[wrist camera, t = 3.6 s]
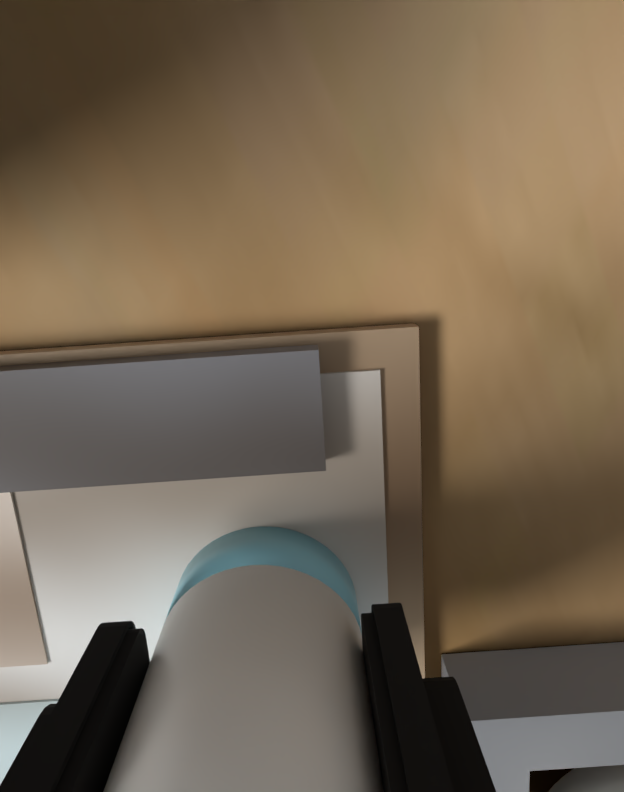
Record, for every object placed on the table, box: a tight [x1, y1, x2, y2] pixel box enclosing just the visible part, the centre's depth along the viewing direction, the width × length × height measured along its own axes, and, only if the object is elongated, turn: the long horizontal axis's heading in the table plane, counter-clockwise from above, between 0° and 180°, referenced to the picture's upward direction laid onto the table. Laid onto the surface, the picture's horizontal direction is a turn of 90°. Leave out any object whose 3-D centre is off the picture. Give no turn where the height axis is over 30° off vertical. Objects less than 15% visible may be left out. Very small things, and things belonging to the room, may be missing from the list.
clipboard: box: [0, 323, 425, 785], centre depth 14 cm, size 20×14×1 cm
